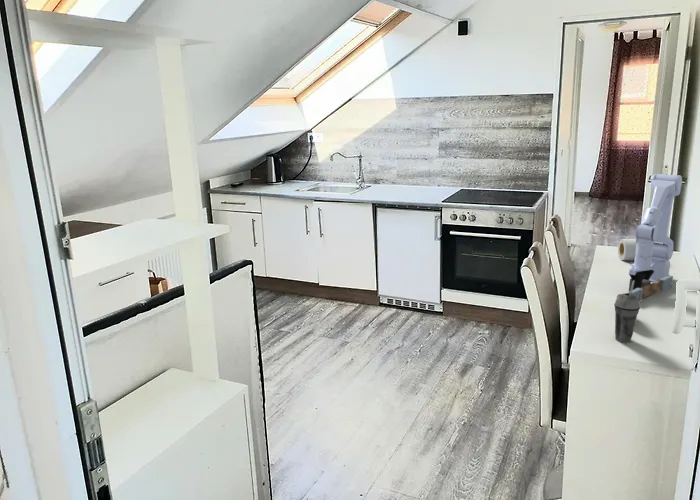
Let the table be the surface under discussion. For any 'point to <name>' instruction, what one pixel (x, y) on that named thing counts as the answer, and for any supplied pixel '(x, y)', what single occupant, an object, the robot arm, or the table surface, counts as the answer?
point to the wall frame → (665, 284)
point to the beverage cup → (625, 316)
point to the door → (651, 288)
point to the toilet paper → (627, 249)
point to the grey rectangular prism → (644, 283)
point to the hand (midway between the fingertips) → (639, 288)
